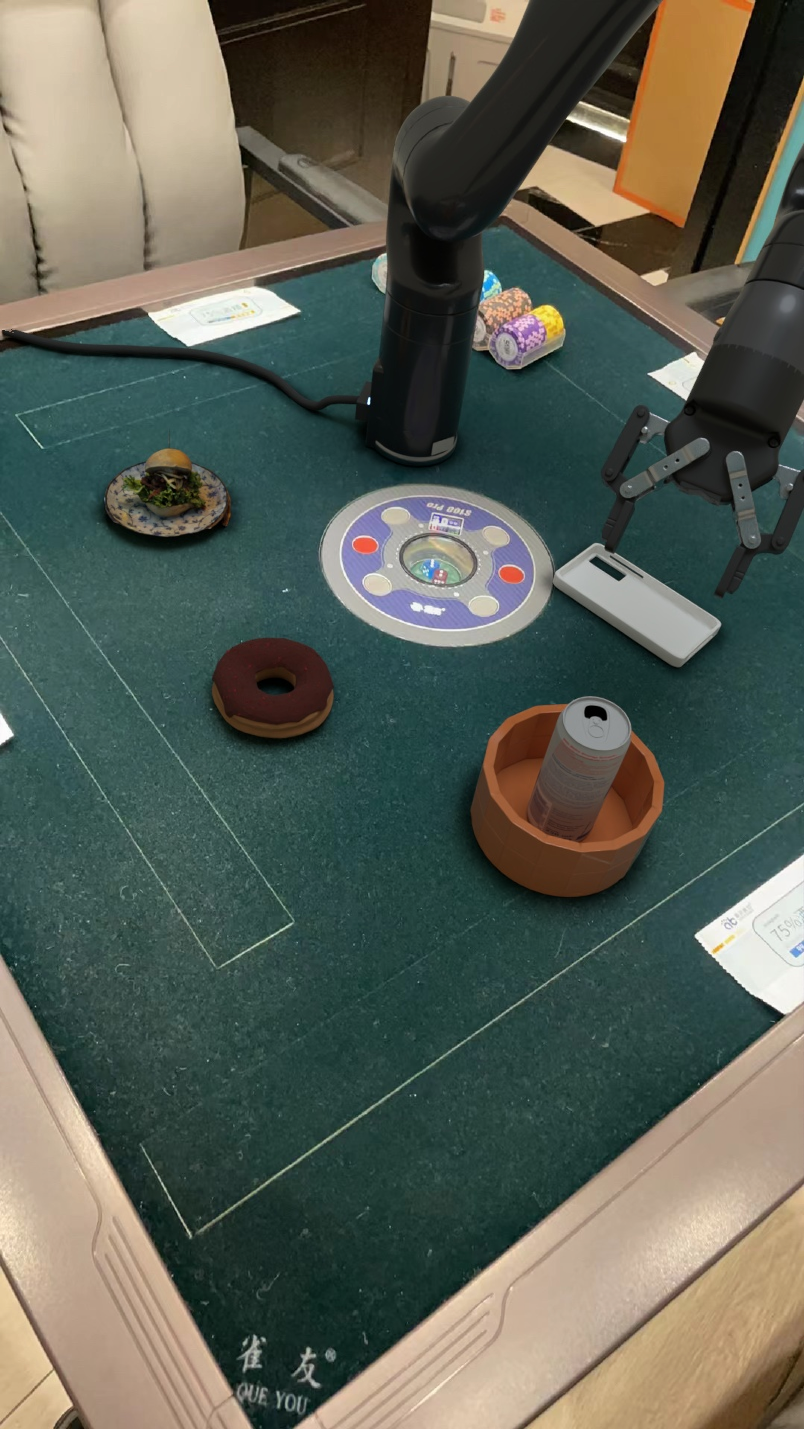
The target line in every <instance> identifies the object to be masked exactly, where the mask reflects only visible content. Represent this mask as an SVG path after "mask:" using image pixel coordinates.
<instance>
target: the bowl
mask: <svg viewBox="0 0 804 1429" xmlns="http://www.w3.org/2000/svg"><path fill="white" fill-rule="evenodd" d="M568 704H569V703H564V704H563V703H560V704H542V705H535V706H532V707H530V708H527V709H525V710H523V711H520V712H518V713H516V714H514V715H511V716H508V717H507V718H506V719H505V720H504V721H503V723H501V725H500V726H498V728H497V729H496V730H495V731H494V732H493V734H491V736H490V737H489V738H488V741H487V745H486V747H485V748H486V749H485V751H484V755H483V758H482V763H481V766H480V770H479V773H478V777H477V779H476V780H477V781H476V784H475V789H474V793H473V797H472V800H471V806H470V820H471V825H472V830H473V833H474V836H475V839H476V841H477V843H478V845H479V848H480V849H481V851H482V852H483V853H484V855H485V857H486V858H487V859H488V860H489V861H490V863H491V864H492V865H493V866H494V867H495V868H497V870H499V871H500V872H501V873H502V874H503V875H505V876H506V877H507V878H508V879H509V880H512V881H513V882H515V883H517V884H518V885H520V886H522V887H525V888H526V889H528V890H531V891H534V892H537V893H541V894H543V895H548V896H553V897H561V898H562V897H563V898H574V897H575V898H577V897H578V898H579V897H585V896H590V895H594V894H597V893H600V892H602V891H605V890H607V889H609V888H611V887H612V886H614V885H615V884H616V883H618V882H619V881H621V879H623V878H624V877H625V876H626V874H627V873H628V872H629V870H630V869H631V868H632V866H633V864H634V863H635V862H636V860H637V859H638V857H639V855H640V854H641V852H642V850H643V848H644V847H645V845H646V842H647V841H648V839H649V837H650V835H651V833H652V831H653V830H654V828H655V825H656V823H657V821H658V820H659V818H660V816H661V814H662V812H663V806H664V805H663V804H664V793H665V780H664V778H663V775H662V773H661V769H660V768H659V765H658V762H657V760H656V757H655V754H654V753H653V752H652V751H651V750H650V749H649V747H648V746H647V745H646V744H644V742H643V741H642V740H641V739H640V738H639V736H637V734H636V733H635V731H633V730H632V729H631V742H630V745H629V747H628V750H627V752H626V754H625V756H624V758H623V761H622V763H621V765H620V767H619V770H618V772H617V774H616V776H615V779H614V781H613V783H612V785H611V788H610V790H609V792H608V794H607V797H606V799H605V801H604V803H603V806H602V808H601V810H600V812H599V815H598V817H597V819H596V821H595V824H594V826H593V828H592V830H591V832H590V833H589V835H588V836H587V837H586V838H584V839H583V840H581V841H579V842H574V841H570V840H566V839H562V838H559V837H555V836H551V835H547V834H545V833H544V832H542V831H541V830H539V829H538V828H536V827H534V826H533V825H531V824H530V822H529V819H528V816H527V807H528V803H529V800H530V797H531V794H532V792H533V789H534V786H535V783H536V780H537V777H538V774H539V772H540V769H541V766H542V763H543V760H544V757H545V754H546V752H547V749H548V746H549V743H550V740H551V737H552V734H553V732H554V729H555V726H556V723H557V720H558V718H559V715H560V714H561V712H562V711H563V710H564V709H565V708H566V707H567V705H568Z"/></svg>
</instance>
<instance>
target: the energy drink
mask: <svg viewBox="0 0 804 1429" xmlns="http://www.w3.org/2000/svg"><path fill="white" fill-rule="evenodd" d="M567 704H568V705H567V707H566V708H565V709H564V710H563V711H562V712H561V714H560V715H559V718H558V720H557V723H556V726H555V729H554V732H553V734H552V737H551V740H550V743H549V746H548V749H547V752H546V754H545V757H544V760H543V763H542V766H541V769H540V772H539V774H538V777H537V780H536V783H535V786H534V789H533V792H532V794H531V797H530V800H529V803H528V807H527V816H528V819H529V822H530V824H531V825H533V826H534V827H536V828H538V829H539V830H541V831H542V832H544V833H545V834H547V835H551V836H555V837H559V838H562V839H566V840H570V841H574V842H579V841H581V840H583V839H584V838H586V837H587V836H588V835H589V833H590V832H591V830H592V828H593V826H594V824H595V821H596V819H597V817H598V815H599V812H600V810H601V808H602V806H603V803H604V801H605V799H606V797H607V794H608V792H609V790H610V788H611V785H612V783H613V781H614V779H615V776H616V774H617V772H618V770H619V767H620V765H621V763H622V761H623V758H624V756H625V754H626V752H627V750H628V747H629V745H630V742H631V730H632V724H631V721H630V719H629V717H628V715H627V713H626V712H625V711H624V710H623V708H621V707H620V706H619V705H618V704H616V703H615V702H612V701H610V700H609V699H605V698H604V697H599V696H591V695H590V696H582V697H578V698H576V699H573V700H571V702H569V703H567Z"/></svg>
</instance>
